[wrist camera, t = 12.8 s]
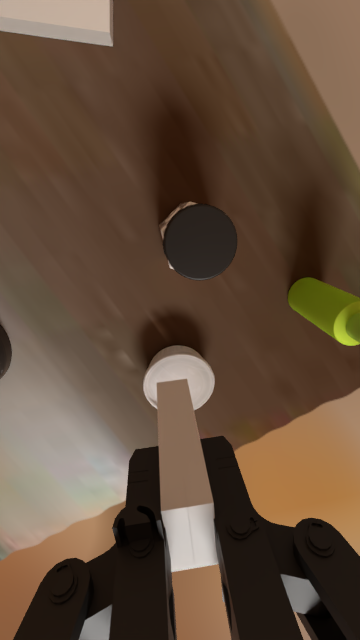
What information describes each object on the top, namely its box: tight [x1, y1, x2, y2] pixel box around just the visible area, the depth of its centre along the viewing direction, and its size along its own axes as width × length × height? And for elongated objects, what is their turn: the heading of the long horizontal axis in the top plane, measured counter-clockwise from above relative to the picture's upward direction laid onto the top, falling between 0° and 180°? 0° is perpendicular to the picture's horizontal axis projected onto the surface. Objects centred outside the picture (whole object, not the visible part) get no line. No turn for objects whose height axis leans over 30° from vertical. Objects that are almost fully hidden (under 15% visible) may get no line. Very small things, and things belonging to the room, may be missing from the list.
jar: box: [159, 202, 237, 280], centre depth 38 cm, size 9×8×12 cm
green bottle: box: [288, 277, 360, 346], centre depth 39 cm, size 6×7×20 cm
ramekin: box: [143, 345, 215, 410], centre depth 49 cm, size 11×11×5 cm
